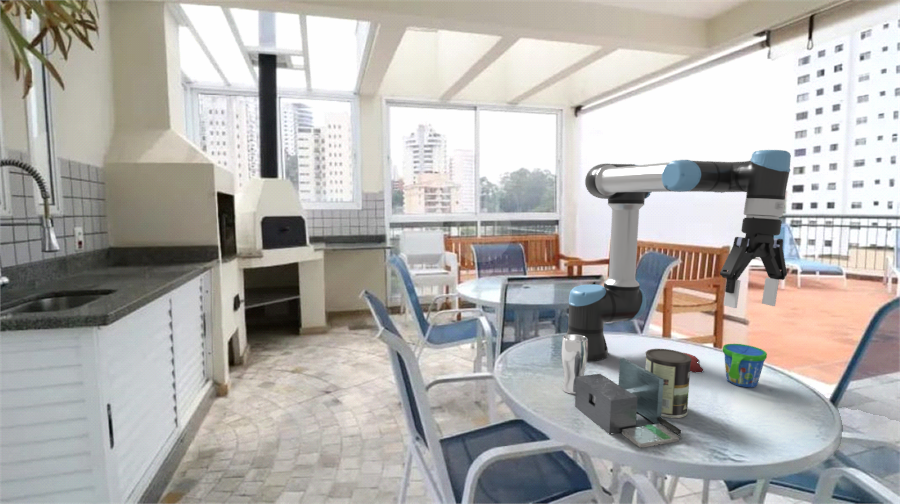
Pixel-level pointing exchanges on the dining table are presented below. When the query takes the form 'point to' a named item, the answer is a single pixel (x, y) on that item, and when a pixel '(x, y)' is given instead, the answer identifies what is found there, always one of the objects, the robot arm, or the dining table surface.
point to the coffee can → (671, 379)
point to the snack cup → (743, 364)
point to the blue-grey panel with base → (644, 391)
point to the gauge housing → (617, 411)
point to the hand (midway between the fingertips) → (749, 305)
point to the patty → (694, 364)
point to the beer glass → (573, 360)
